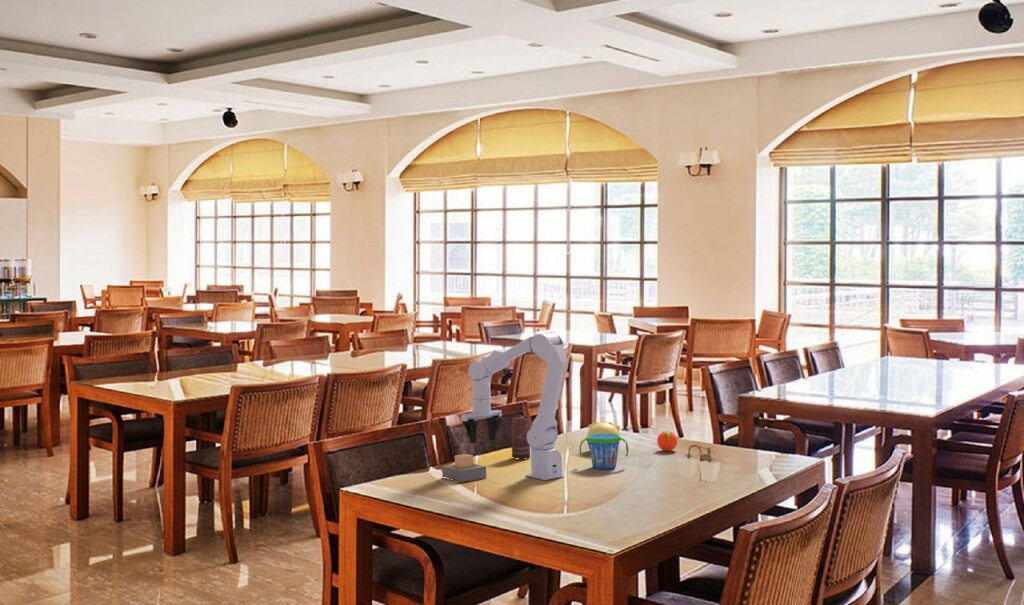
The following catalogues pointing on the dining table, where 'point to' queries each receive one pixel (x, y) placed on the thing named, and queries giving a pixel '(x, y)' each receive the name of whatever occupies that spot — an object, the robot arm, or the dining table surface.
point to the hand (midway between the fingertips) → (482, 441)
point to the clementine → (667, 441)
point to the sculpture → (603, 428)
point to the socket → (464, 473)
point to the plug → (463, 461)
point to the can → (520, 437)
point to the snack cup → (604, 449)
